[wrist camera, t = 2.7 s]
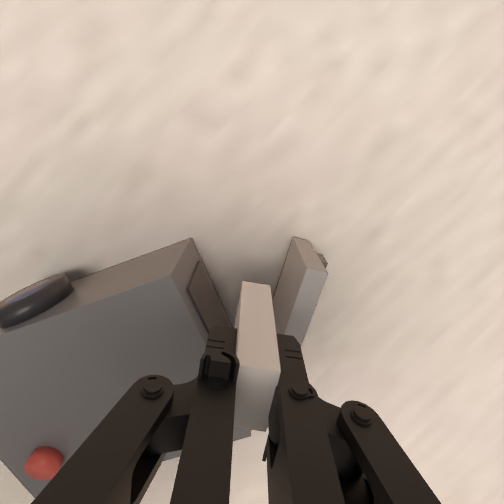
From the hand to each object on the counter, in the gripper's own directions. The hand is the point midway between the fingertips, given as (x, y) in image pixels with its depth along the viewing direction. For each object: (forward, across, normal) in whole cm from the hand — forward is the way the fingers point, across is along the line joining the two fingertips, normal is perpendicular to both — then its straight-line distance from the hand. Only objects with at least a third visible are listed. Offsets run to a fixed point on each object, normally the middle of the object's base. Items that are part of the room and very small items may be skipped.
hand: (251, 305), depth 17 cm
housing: (+7, -8, -8) cm, 13 cm away
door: (+6, +3, -3) cm, 8 cm away
